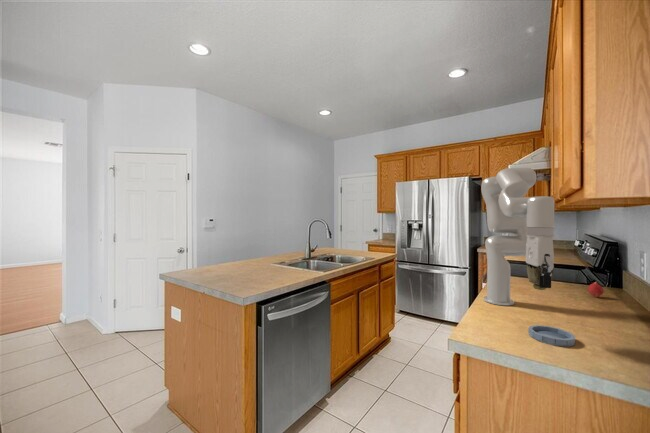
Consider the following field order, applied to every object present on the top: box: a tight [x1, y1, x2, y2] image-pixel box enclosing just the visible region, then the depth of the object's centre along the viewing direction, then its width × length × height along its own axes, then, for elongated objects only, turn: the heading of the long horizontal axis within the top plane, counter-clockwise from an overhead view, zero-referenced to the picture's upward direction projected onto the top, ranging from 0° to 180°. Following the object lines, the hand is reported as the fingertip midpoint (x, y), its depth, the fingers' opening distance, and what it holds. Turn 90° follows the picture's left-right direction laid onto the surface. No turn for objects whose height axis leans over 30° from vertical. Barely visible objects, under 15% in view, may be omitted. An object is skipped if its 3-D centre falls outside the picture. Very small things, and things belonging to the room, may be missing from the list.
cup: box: [526, 263, 555, 291], centre depth 96 cm, size 8×7×8 cm
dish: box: [528, 324, 576, 348], centre depth 95 cm, size 12×12×2 cm
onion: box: [587, 281, 605, 298], centre depth 144 cm, size 6×6×8 cm
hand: (539, 284), depth 96 cm, fingers closed on cup, 6 cm apart
